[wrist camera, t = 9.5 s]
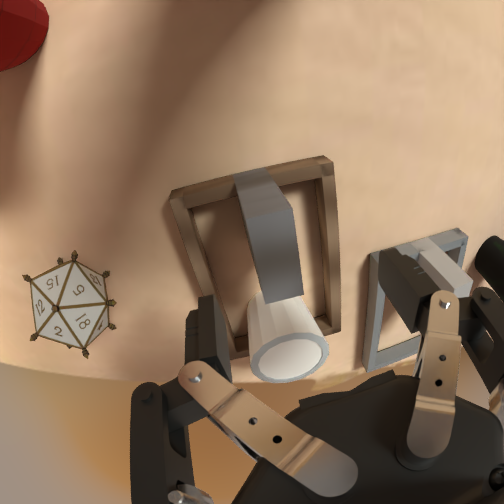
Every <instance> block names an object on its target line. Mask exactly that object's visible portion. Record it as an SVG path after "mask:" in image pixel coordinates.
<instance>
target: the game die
mask: <svg viewBox="0 0 504 504" xmlns="http://www.w3.org/2000/svg"><path fill="white" fill-rule="evenodd" d="M77 256H78V254H77V253H76V251H74V252H73V253H72V256H71V258H72V260H71V261H68V262H65V263H63V261H62V259H61V258H60V257H59V259H58V260H57V262H58V264H59V265H58V266H56V267H54V268H52V269H50V270H48V271H46V272H44V273H42V274H40V275H38V276H36V277H34V278H33V279H31V278H30V276H28V274H27V275H22V276H23V278H24V280H26V281H27V282H30V287H31V298H32V307H33V315H34V323H35V329H36V333H35V334H33V335H31V338H30V341H35V340H36V339H37V337H38V336H40V337H43V338H46V339H49V340H53V341H56V342H59V343H62V344H65V345H67V347H68V348H69V349H70V348H71V347H75V348H79V349H82V350H83V351H82V353H83V356H84V357H86V358H87V359H88V355H89V353H88V351H87V349H86V347H87V346H88V345H89V344H90V343H91V342H92V341H93V340H94V339H95V338H96V337H97V336H99V335H100V334H101V333H102V332H103V331H104V330H105V329H106V328H107V327H109V328H110V329H112V330H113V329H116V327H115V325H114V324H110V323H109V306H113V307H114V305H115V304H116V302H115V301H114V300H113V299H112V300H111V299H110V300H109V301H108V297H107V292H106V286H105V279H104V278H105V277H107V276H109V274H110V271H105V272H104V273H103V275H101V274H99V273H97V272H95V271H93V270H92V269H90V268H88V267H86V266H84V265H83V264H81V263H79V262H77V261H76V259H77V258H78V257H77Z"/></svg>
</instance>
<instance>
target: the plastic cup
mask: <svg viewBox="0 0 504 504" xmlns="http://www.w3.org/2000/svg"><path fill="white" fill-rule="evenodd" d="M48 25H49V15H48V13H47V10H46V8H45V7H44V4H43V3H42V2H40V1H39V0H0V72H1V71H4V70H7V69H10V68H13V67H15V66H17V65H20V64H22V63H23V62H26V61H27V60H28V59H29V58H30V57H31V56H32V55H34V54H35V53H36V51H37V50H38V48H39V47H40V46H41V44H42V43H43V41H44V39H45V36H46V33H47V30H48Z"/></svg>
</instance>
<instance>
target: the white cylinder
mask: <svg viewBox="0 0 504 504" xmlns="http://www.w3.org/2000/svg"><path fill="white" fill-rule="evenodd" d="M247 321H248V338H249V354H250V366H251V369H252V372H253V374H254V375H255V376H257V377H258V378H259V379H261V380H263V381H267V382H271V383H288V382H291V381H295V380H299V379H302V378H304V377H306V376H308V375H310V374H312V373H314V372H315V371H316V370H317V369H318V368H319V367H321V366H322V365H323V364H324V362H325V360H326V358H327V357H328V355H329V344H328V343H327V341H326V339H325V337H324V336H323V334H322V332H321V330H320V329H319V327H318V325H317V324H316V322H315V320H314V318H313V317H312V315H311V313H310V311H309V310H308V308H307V306H306V305H305V303H304V301H303V299H302V298H301V296H297V297H293V298H289V299H285V300H281V301H277V302H274V303H270V304H266V305H265V302H264V298H263V294H262V291H260V292H258V293H256V294H255V295H254V296H253V298H252V299H251V300H250V301H249V304H248V308H247Z"/></svg>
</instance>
